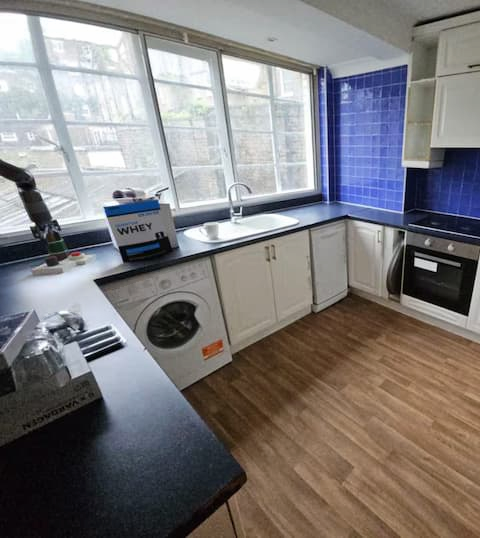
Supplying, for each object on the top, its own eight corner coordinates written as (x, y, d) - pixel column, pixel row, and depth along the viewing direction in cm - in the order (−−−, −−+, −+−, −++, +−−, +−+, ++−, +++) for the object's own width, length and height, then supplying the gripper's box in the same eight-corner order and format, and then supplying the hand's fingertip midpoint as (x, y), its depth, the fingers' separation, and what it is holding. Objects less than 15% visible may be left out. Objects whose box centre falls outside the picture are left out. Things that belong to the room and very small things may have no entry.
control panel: (33, 275, 144) (30, 269, 143) (48, 268, 153) (45, 262, 152) (63, 272, 146) (61, 267, 145) (77, 265, 155) (74, 260, 154)
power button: (70, 257, 157) (69, 254, 156) (74, 255, 160) (73, 252, 159) (78, 256, 158) (76, 253, 157) (82, 254, 161) (81, 251, 160)
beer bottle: (71, 255, 170) (53, 215, 161) (70, 259, 165) (52, 217, 155) (53, 259, 166) (33, 217, 156) (51, 262, 160) (31, 219, 151)
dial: (45, 267, 146) (41, 259, 144) (51, 263, 150) (47, 256, 148) (55, 266, 147) (51, 258, 145) (61, 263, 151) (58, 255, 149)
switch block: (59, 266, 155) (56, 259, 153) (72, 260, 164) (69, 253, 162) (86, 264, 157) (83, 257, 155) (97, 257, 166) (94, 251, 164)
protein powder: (120, 261, 160) (100, 206, 148) (169, 249, 177) (154, 199, 166) (126, 264, 154) (105, 208, 143) (175, 252, 172) (161, 200, 160)
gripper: (40, 208, 147) (54, 239, 153) (16, 214, 134) (33, 248, 141) (57, 207, 148) (71, 238, 155) (35, 213, 135) (51, 246, 142)
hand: (53, 243), depth 148 cm, fingers open, 8 cm apart
